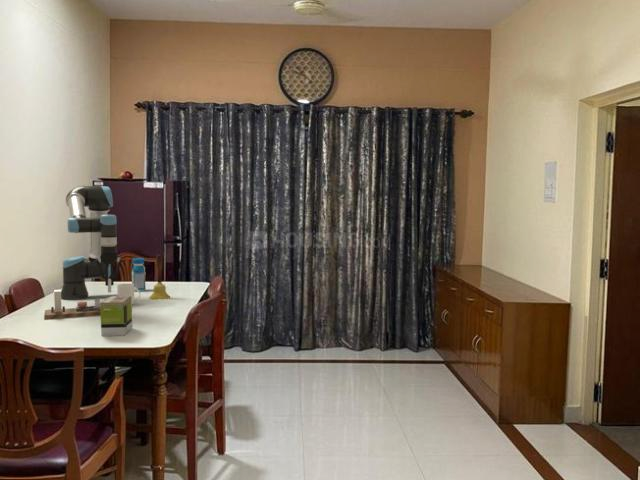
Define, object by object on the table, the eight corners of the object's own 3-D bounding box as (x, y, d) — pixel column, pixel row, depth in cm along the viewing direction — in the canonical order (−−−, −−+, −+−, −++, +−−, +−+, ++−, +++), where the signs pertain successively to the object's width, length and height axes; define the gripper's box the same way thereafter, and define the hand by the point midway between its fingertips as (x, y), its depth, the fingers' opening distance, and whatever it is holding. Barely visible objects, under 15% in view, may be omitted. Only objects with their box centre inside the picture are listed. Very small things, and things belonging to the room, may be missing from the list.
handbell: (173, 296, 352) (173, 254, 350) (166, 299, 339) (165, 256, 338) (153, 295, 353) (153, 253, 351) (145, 299, 341) (144, 255, 339)
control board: (44, 319, 284) (44, 310, 283) (45, 313, 297) (45, 305, 296) (123, 314, 298) (123, 305, 297) (121, 309, 311) (121, 300, 310)
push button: (77, 306, 294) (77, 303, 293) (77, 305, 298) (77, 301, 298) (87, 306, 295) (87, 302, 295) (86, 304, 299) (86, 301, 299)
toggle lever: (54, 310, 291) (54, 291, 286) (54, 309, 292) (54, 290, 287) (61, 310, 292) (60, 291, 288) (61, 308, 293) (60, 289, 289)
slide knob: (93, 309, 297) (93, 300, 296) (93, 308, 300) (92, 299, 300) (101, 309, 298) (101, 299, 298) (101, 307, 302) (101, 298, 302)
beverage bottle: (138, 292, 365) (137, 259, 364) (128, 290, 369) (128, 258, 368) (148, 290, 372) (148, 258, 371) (139, 289, 377) (139, 257, 375)
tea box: (109, 328, 266) (109, 295, 265) (133, 328, 267) (132, 295, 266) (100, 336, 251) (99, 301, 250) (124, 336, 252) (124, 301, 251)
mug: (138, 305, 321) (138, 286, 320) (115, 305, 320) (115, 286, 319) (142, 302, 329) (141, 283, 328) (119, 303, 328) (119, 283, 327)
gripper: (95, 246, 293) (96, 294, 296) (123, 246, 298) (123, 292, 301) (94, 245, 300) (95, 291, 302) (121, 244, 305) (122, 290, 308)
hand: (109, 291), depth 302 cm, fingers closed
